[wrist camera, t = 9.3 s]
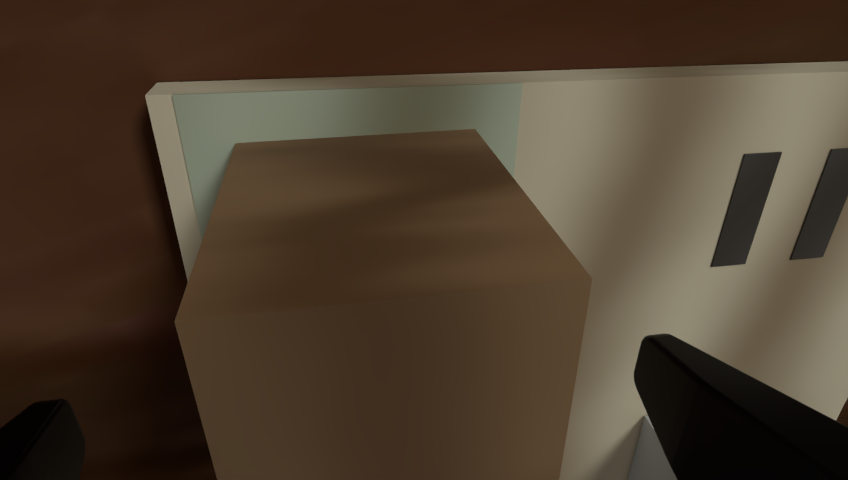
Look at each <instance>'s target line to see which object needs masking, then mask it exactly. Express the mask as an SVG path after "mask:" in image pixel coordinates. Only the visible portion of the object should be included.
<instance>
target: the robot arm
mask: <svg viewBox="0 0 848 480" xmlns="http://www.w3.org/2000/svg"><path fill="white" fill-rule="evenodd" d="M634 383H635V386H636V389H637V391H638V393H639V396H640V398H641V400H642V403H643V405H644V407H645V410H646V412H647V414H648V417H649V419H650V421H651V424H652V426H653V428H654V431H655V433H656V435H657V438H658V440H659V442H660V445H661V447H662V449H663V451H664V454H665V456H666V458H667V460H668V462H669V465H670V467H671V469H672V471H673V472H674V474H675V476H676V478H677V480H848V427H847V426H845V425H843V424H841V423H839V422H838V421H836V420H834V419H832V418H830V417H828V416H826V415H824V414H822V413H820V412H818V411H816V410H815V409H813V408H811V407H809V406H807V405H805V404H803V403H801V402H799V401H797V400H795V399H793V398H792V397H790V396H788V395H786V394H784V393H782V392H780V391H778V390H776V389H774V388H772V387H771V386H769V385H767V384H765V383H763V382H761V381H759V380H757V379H755V378H753V377H751V376H749V375H748V374H746V373H744V372H742V371H740V370H738V369H736V368H734V367H732V366H730V365H728V364H726V363H725V362H723V361H721V360H719V359H717V358H715V357H713V356H711V355H709V354H707V353H705V352H703V351H702V350H700V349H698V348H696V347H694V346H692V345H690V344H688V343H686V342H684V341H682V340H681V339H679V338H677V337H675V336H673V335H671V334H665V333H664V334H655V335H648V336H645V337H644V338H643V340H642V341H641V345H640V349H639V353H638V357H637V361H636V365H635V369H634ZM84 455H85V440H84V436H83V434H82V431H81V428H80V426H79V423H78V421H77V418H76V416H75V413H74V411H73V408H72V406H71V404H70V403H69V402H68V401H67V400H64V399H57V400H48V401H39V402H35V403H33V404H32V405H30V406H29V407H27V408H26V409H25V410H23V411H22V412H21V413H20V414H18V415H17V416H16V417H15V418H13V419H12V420H11V421H9V422H8V423H7V424H6V425H4V426H3V427H2V428H0V480H79V477H80V473H81V468H82V464H83V459H84Z"/></svg>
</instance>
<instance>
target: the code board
mask: <svg viewBox="0 0 848 480" xmlns="http://www.w3.org/2000/svg"><path fill="white" fill-rule="evenodd" d="M145 98H146V102H147V106H148V111H149V115H150V119H151V124H152V128H153V133H154V137H155V141H156V146H157V150H158V154H159V159H160V163H161V167H162V172H163V176H164V181H165V185H166V189H167V194H168V198H169V202H170V207H171V211H172V215H173V220H174V224H175V229H176V233H177V237H178V242H179V246H180V250H181V255H182V259H183V264H184V268H185V272H186V277H187V281H188V280H189V277H190V274H191V271H192V269H193V266H194V263H195V260H196V257H197V254H198V251H199V248H200V245H201V242H202V239H203V236H204V233H205V231H206V228H207V225H208V222H209V219H210V216H211V213H212V210H213V207H214V204H215V201H216V198H217V195H218V193H219V190H220V187H221V184H222V181H223V178H224V175H225V172H226V169H227V166H228V163H229V160H230V157H231V154H232V152H233V149H234V146H235V143H246V142H263V141H280V140H296V139H313V138H330V137H346V136H363V135H380V134H397V133H413V132H430V131H447V130H464V129H476V131H477V132H478V133H479V135H480V136H481V137H482V138H483V140H484V141H485V142H486V143H487V145H488V146H489V147H490V149H491V150H492V151H493V152H494V154H495V155H496V156H497V158H498V159H499V160H500V161H501V163H502V164H503V165H504V166H505V168H506V169H507V170H508V172H509V173H510V174H511V175H512V177H513V178H514V179H515V181H516V182H517V183H518V184H519V186H520V187H521V188H522V189H523V191H524V192H525V193H526V195H527V196H528V197H529V198H530V200H531V201H532V202H533V204H534V205H535V206H536V207H537V209H538V210H539V211H540V212H541V214H542V215H543V216H544V218H545V219H546V220H547V221H548V223H549V224H550V225H551V227H552V228H553V229H554V230H555V232H556V233H557V234H558V235H559V237H560V238H561V239H562V241H563V242H564V243H565V244H566V246H567V247H568V248H569V250H570V251H571V252H572V253H573V255H574V256H575V257H576V258H577V260H578V261H579V262H580V264H581V265H582V266H583V267H584V269H585V270H586V271H587V272H588V274H589V275H590V276H591V278H592V285H591V291H590V297H589V303H588V309H587V315H586V321H585V327H584V333H583V339H582V345H581V351H580V357H579V363H578V369H577V375H576V381H575V387H574V393H573V399H572V405H571V412H570V418H569V424H568V430H567V436H566V442H565V448H564V454H563V460H562V466H561V472H560V478H559V480H627V479H628V476H629V472H630V468H631V465H632V461H633V457H634V454H635V450H636V446H637V443H638V439H639V435H640V432H641V428H642V424H643V420H644V417H645V416H648V414H647V412H646V410H645V407H644V405H643V403H642V400H641V398H640V396H639V393H638V391H637V389H636V386H635V383H634V369H635V365H636V361H637V357H638V353H639V349H640V345H641V341H642V340H643V338H644V337H645V336H648V335H655V334H664V333H665V334H671V335H673V336H675V337H677V338H679V339H681V340H682V341H684V342H686V343H688V344H690V345H692V346H694V347H696V348H698V349H700V350H702V351H703V352H705V353H707V354H709V355H711V356H713V357H715V358H717V359H719V360H721V361H723V362H725V363H726V364H728V365H730V366H732V367H734V368H736V369H738V370H740V371H742V372H744V373H746V374H748V375H749V376H751V377H753V378H755V379H757V380H759V381H761V382H763V383H765V384H767V385H769V386H771V387H772V388H774V389H776V390H778V391H780V392H782V393H784V394H786V395H788V396H790V397H792V398H793V399H795V400H797V401H799V402H801V403H803V404H805V405H807V406H809V407H811V408H813V409H815V410H816V411H818V412H820V413H822V414H824V415H826V416H828V417H830V418H832V419H834V420H837V418H838V416H839V414H840V412H841V410H842V408H843V406H844V404H845V402H846V400H847V398H848V61H843V62H810V63H778V64H746V65H713V66H681V67H649V68H616V69H584V70H551V71H519V72H487V73H454V74H422V75H390V76H357V77H325V78H293V79H260V80H228V81H196V82H163V83H156V84H155V86H154V87H153V88H152V89H151V90H150V91H149V92H148V93H147V94H146V95H145Z"/></svg>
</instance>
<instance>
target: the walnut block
mask: <svg viewBox="0 0 848 480" xmlns="http://www.w3.org/2000/svg"><path fill="white" fill-rule="evenodd" d="M591 285H592V278H591V276H590V275H589V274H588V272H587V271H586V270H585V269H584V267H583V266H582V265H581V264H580V262H579V261H578V260H577V258H576V257H575V256H574V255H573V253H572V252H571V251H570V250H569V248H568V247H567V246H566V244H565V243H564V242H563V241H562V239H561V238H560V237H559V235H558V234H557V233H556V232H555V230H554V229H553V228H552V227H551V225H550V224H549V223H548V221H547V220H546V219H545V218H544V216H543V215H542V214H541V212H540V211H539V210H538V209H537V207H536V206H535V205H534V204H533V202H532V201H531V200H530V198H529V197H528V196H527V195H526V193H525V192H524V191H523V189H522V188H521V187H520V186H519V184H518V183H517V182H516V181H515V179H514V178H513V177H512V175H511V174H510V173H509V172H508V170H507V169H506V168H505V166H504V165H503V164H502V163H501V161H500V160H499V159H498V158H497V156H496V155H495V154H494V152H493V151H492V150H491V149H490V147H489V146H488V145H487V143H486V142H485V141H484V140H483V138H482V137H481V136H480V135H479V133H478V132H477V131H476V129H464V130H447V131H430V132H413V133H397V134H380V135H363V136H346V137H330V138H313V139H296V140H280V141H263V142H246V143H235V146H234V149H233V152H232V154H231V157H230V160H229V163H228V166H227V169H226V172H225V175H224V178H223V181H222V184H221V187H220V190H219V193H218V195H217V198H216V201H215V204H214V207H213V210H212V213H211V216H210V219H209V222H208V225H207V228H206V231H205V233H204V236H203V239H202V242H201V245H200V248H199V251H198V254H197V257H196V260H195V263H194V266H193V269H192V271H191V274H190V277H189V280H188V283H187V286H186V289H185V292H184V295H183V298H182V301H181V304H180V307H179V310H178V312H177V315H176V318H175V321H174V322H175V326H176V330H177V333H178V337H179V341H180V344H181V348H182V352H183V355H184V359H185V363H186V366H187V370H188V374H189V377H190V381H191V385H192V389H193V392H194V396H195V400H196V403H197V407H198V411H199V414H200V418H201V422H202V425H203V429H204V433H205V436H206V440H207V444H208V448H209V451H210V455H211V459H212V462H213V466H214V470H215V473H216V477H217V480H559V478H560V472H561V466H562V460H563V454H564V448H565V442H566V436H567V430H568V424H569V418H570V412H571V405H572V399H573V393H574V387H575V381H576V375H577V369H578V363H579V357H580V351H581V345H582V339H583V333H584V327H585V321H586V315H587V309H588V303H589V297H590V291H591Z"/></svg>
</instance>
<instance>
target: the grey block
mask: <svg viewBox="0 0 848 480" xmlns="http://www.w3.org/2000/svg"><path fill="white" fill-rule="evenodd" d="M627 480H677V478H676V476H675V474H674V472H673V471H672V469H671V467H670V465H669V462H668V460H667V458H666V456H665V454H664V451H663V449H662V447H661V445H660V442H659V440H658V438H657V435H656V433H655V431H654V428H653V426H652V424H651V421H650V419H649V417H648V416H645V417H644V420H643V424H642V428H641V432H640V435H639V439H638V443H637V446H636V450H635V454H634V457H633V461H632V465H631V468H630V472H629V476H628V479H627Z"/></svg>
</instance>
